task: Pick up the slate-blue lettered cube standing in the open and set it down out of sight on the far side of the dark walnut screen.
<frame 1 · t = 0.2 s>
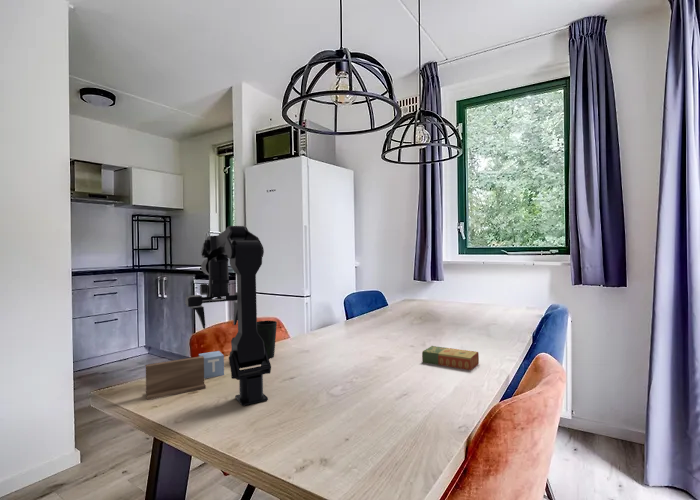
hand: (219, 326, 117), 14 cm above the table, fingers open, 9 cm apart
carton: (450, 364, 122), on the table
letter cube: (211, 374, 114), on the table
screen: (176, 390, 101), on the table
cup: (266, 357, 132), on the table
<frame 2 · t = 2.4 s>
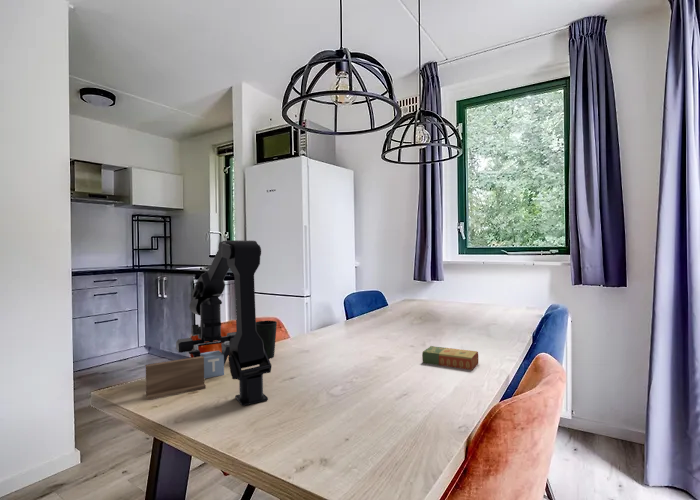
hand: (211, 369, 114), 1 cm above the table, fingers closed on letter cube, 6 cm apart
letter cube: (211, 374, 114), on the table, touching gripper
everything else where it was.
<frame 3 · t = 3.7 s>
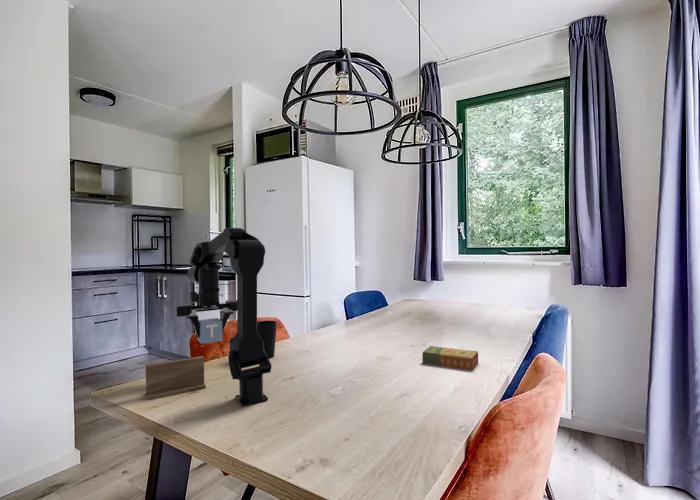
hand: (209, 336, 114), 11 cm above the table, fingers closed on letter cube, 6 cm apart
letter cube: (209, 340, 114), point 10 cm above the table, touching gripper
everything else where it was.
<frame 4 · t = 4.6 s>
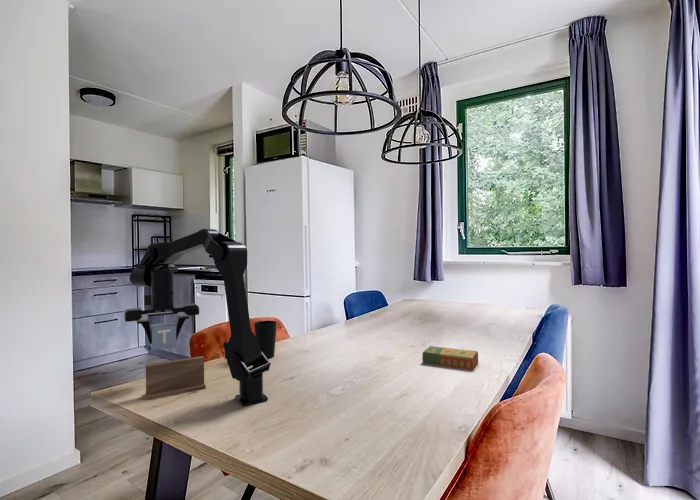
hand: (163, 342, 108), 11 cm above the table, fingers closed on letter cube, 6 cm apart
letter cube: (163, 346, 108), point 10 cm above the table, touching gripper
everything else where it was.
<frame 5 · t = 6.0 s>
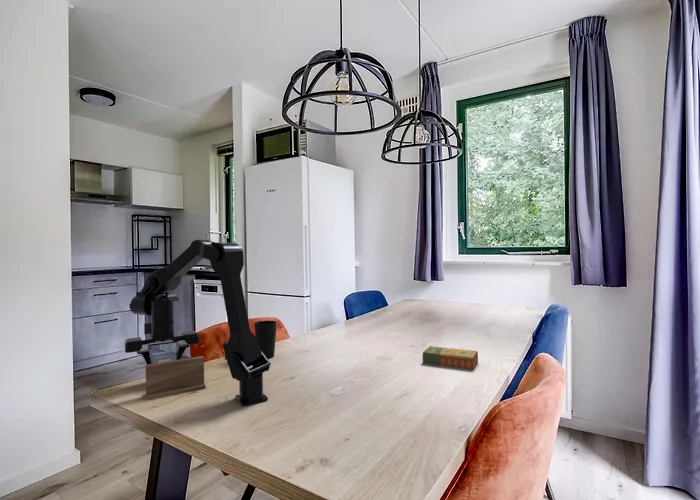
hand: (163, 371, 108), 3 cm above the table, fingers closed on letter cube, 6 cm apart
letter cube: (163, 375, 108), point 2 cm above the table, touching gripper
everything else where it was.
when the fingers open (2 cm above the table, at t = 7.0 s): letter cube drops 1 cm, on the table.
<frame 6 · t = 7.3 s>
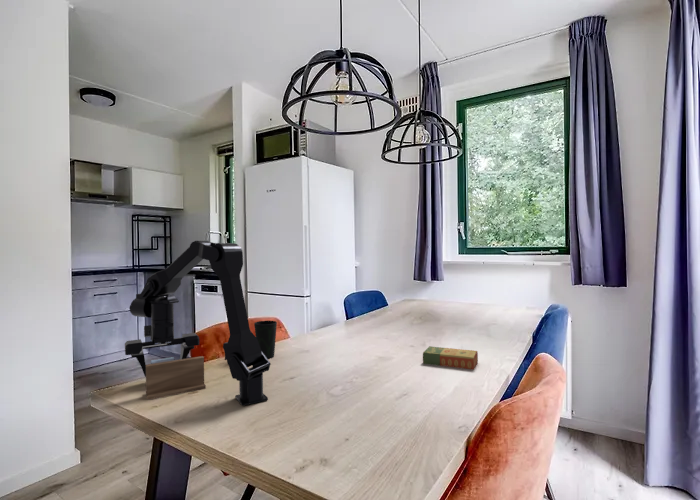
hand: (163, 373, 108), 2 cm above the table, fingers open, 9 cm apart
letter cube: (163, 382, 108), on the table
everything else where it was.
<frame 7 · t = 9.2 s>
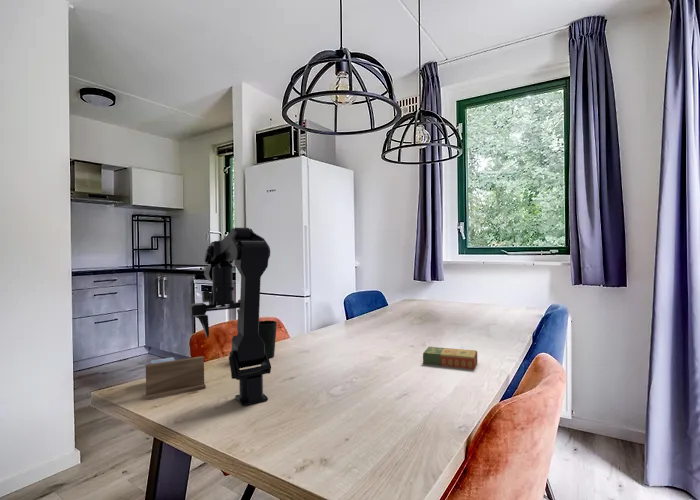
hand: (223, 335, 114), 12 cm above the table, fingers open, 9 cm apart
nothing on the table moved.
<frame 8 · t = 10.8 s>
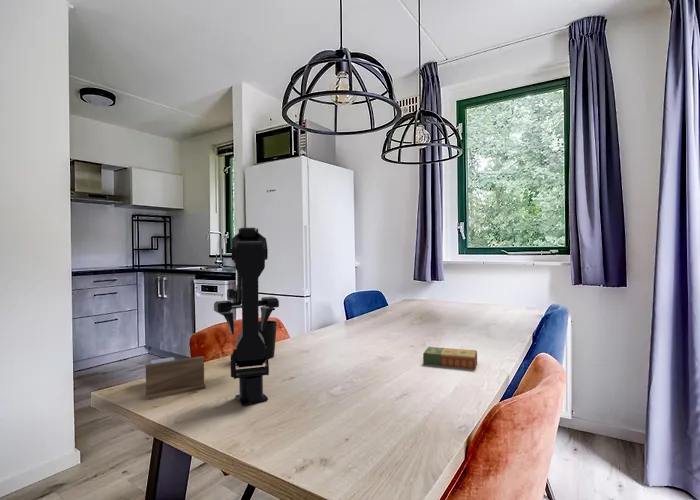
hand: (247, 332, 116), 12 cm above the table, fingers open, 9 cm apart
nothing on the table moved.
at the end: letter cube inside the target area on the table beside the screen (2.0 cm from its centre), on the table; letter cube tilted 0°; the gripper is holding nothing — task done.
